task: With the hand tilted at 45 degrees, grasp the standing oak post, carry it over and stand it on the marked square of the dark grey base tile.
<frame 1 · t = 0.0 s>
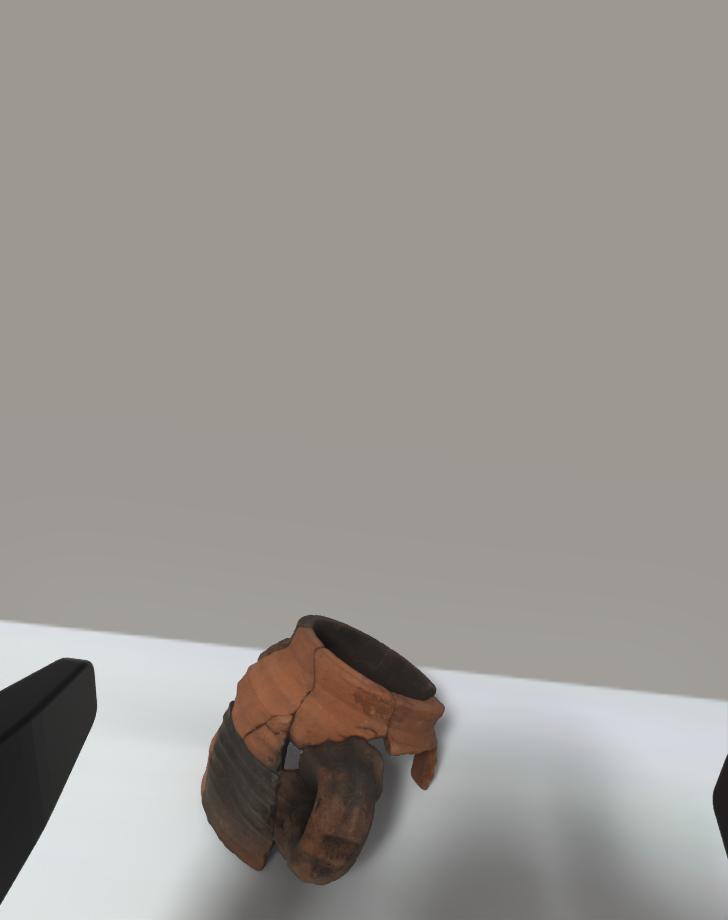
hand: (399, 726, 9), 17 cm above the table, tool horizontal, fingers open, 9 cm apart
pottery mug: (319, 806, 27), on the table
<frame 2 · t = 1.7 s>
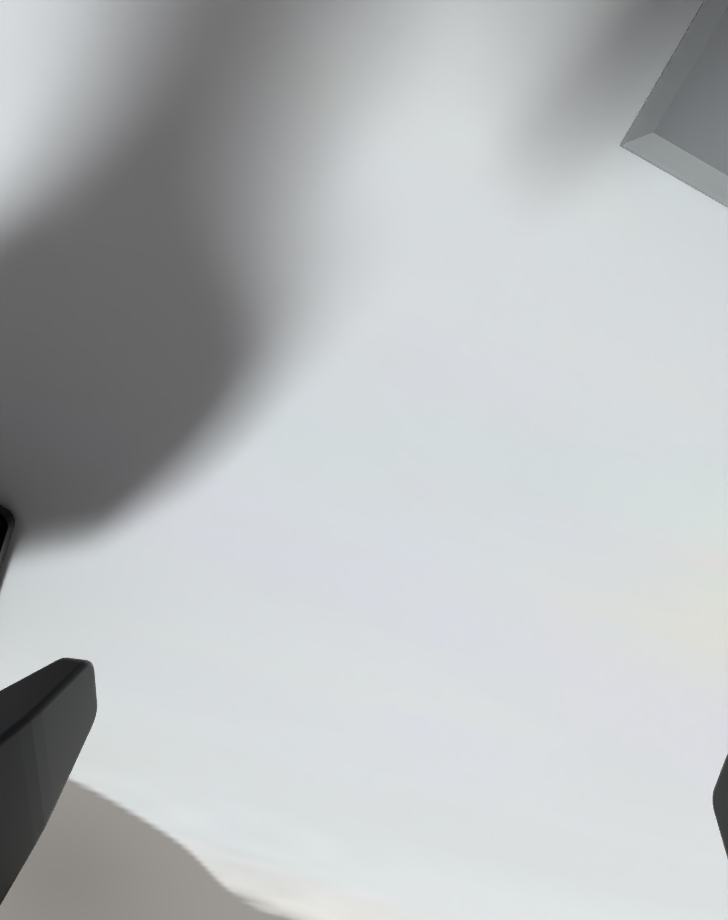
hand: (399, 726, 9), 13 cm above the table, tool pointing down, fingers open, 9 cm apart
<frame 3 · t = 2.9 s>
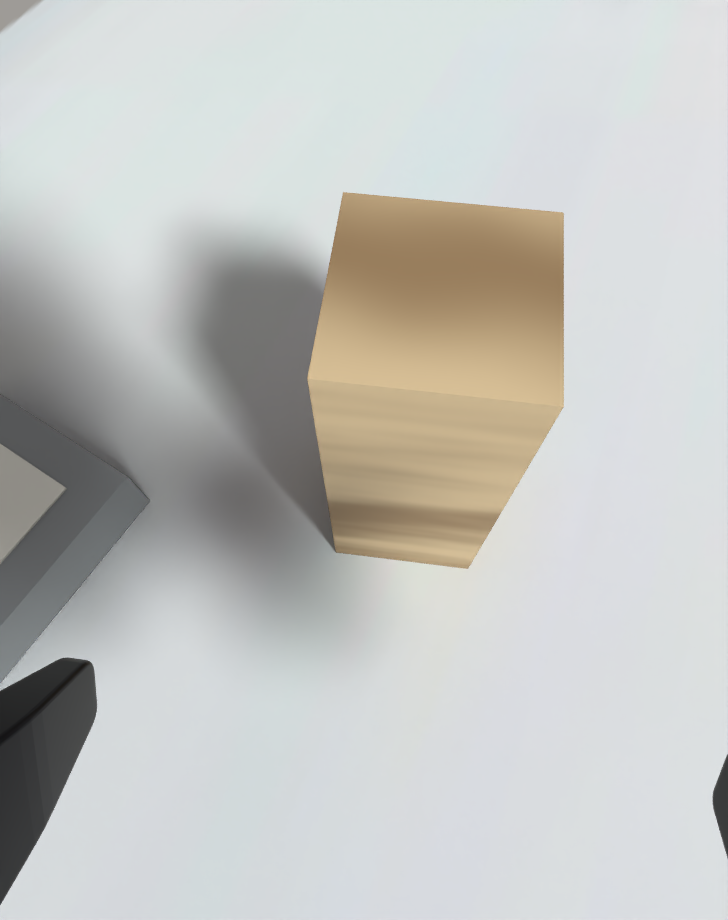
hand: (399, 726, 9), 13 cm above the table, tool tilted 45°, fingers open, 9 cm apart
oak post: (408, 498, 25), on the table
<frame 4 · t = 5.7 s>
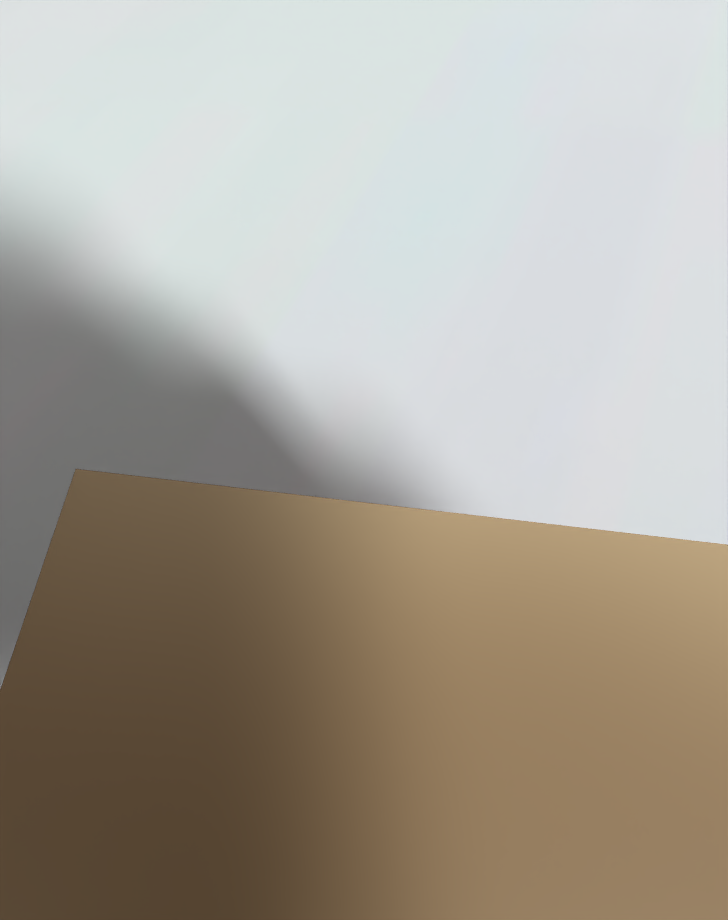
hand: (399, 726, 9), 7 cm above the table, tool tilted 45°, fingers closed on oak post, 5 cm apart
oak post: (379, 799, 14), on the table, touching gripper
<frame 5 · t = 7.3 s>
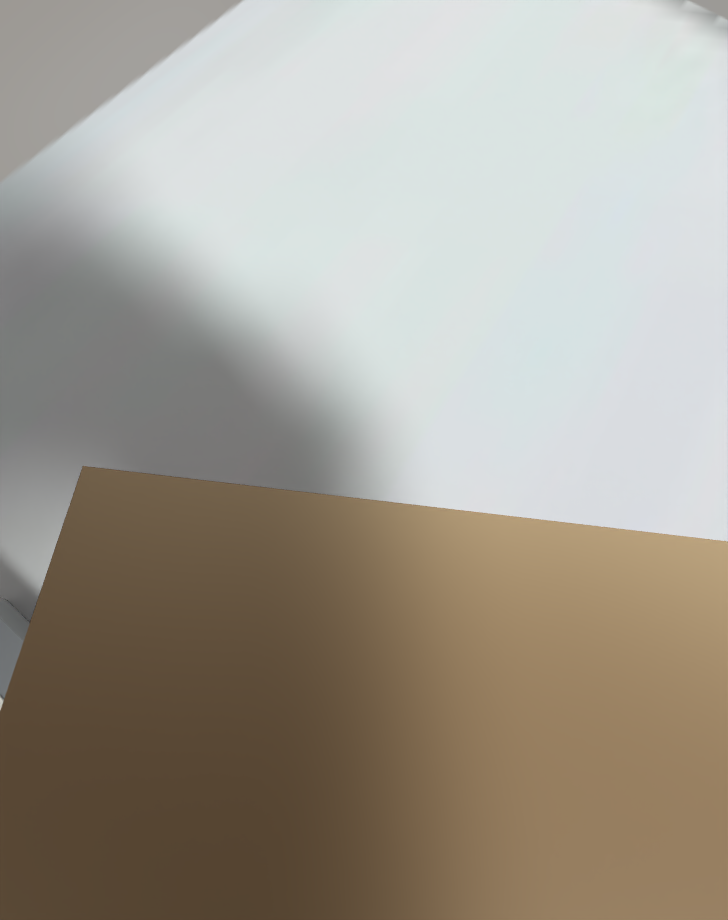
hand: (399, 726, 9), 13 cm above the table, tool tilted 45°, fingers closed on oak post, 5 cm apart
oak post: (380, 798, 14), point 7 cm above the table, touching gripper
when the fingers open (10 cm above the table, at t = 9.2 s): oak post stays where it is, resting on base tile.
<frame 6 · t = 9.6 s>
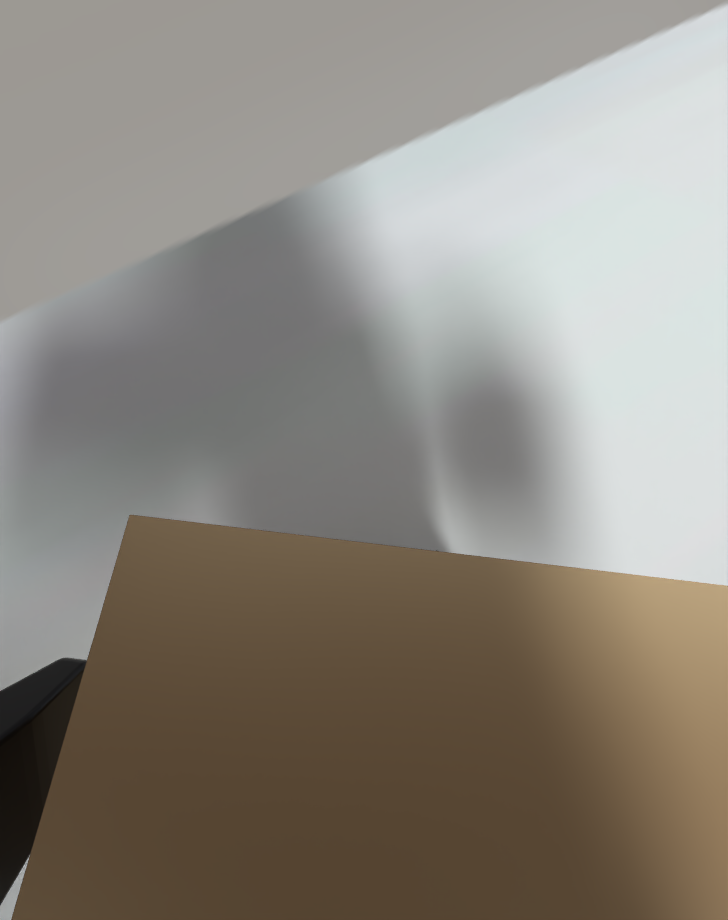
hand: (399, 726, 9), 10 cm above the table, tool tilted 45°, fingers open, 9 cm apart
oak post: (379, 794, 15), point 3 cm above the table, touching base tile
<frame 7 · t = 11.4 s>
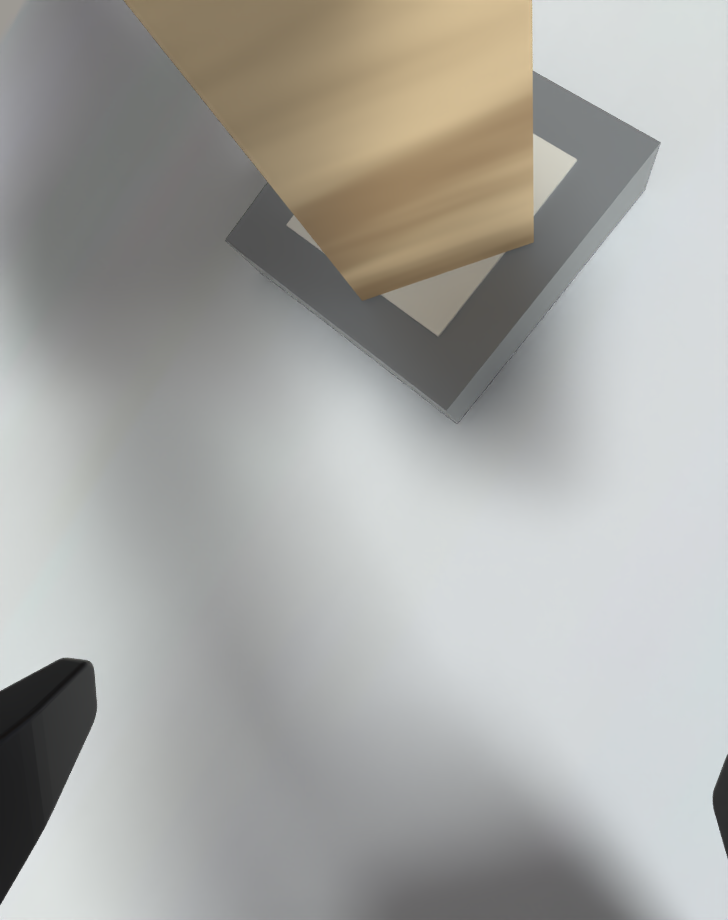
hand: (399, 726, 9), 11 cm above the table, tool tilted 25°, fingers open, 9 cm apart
base tile: (436, 233, 21), on the table
oak post: (423, 193, 18), point 3 cm above the table, touching base tile
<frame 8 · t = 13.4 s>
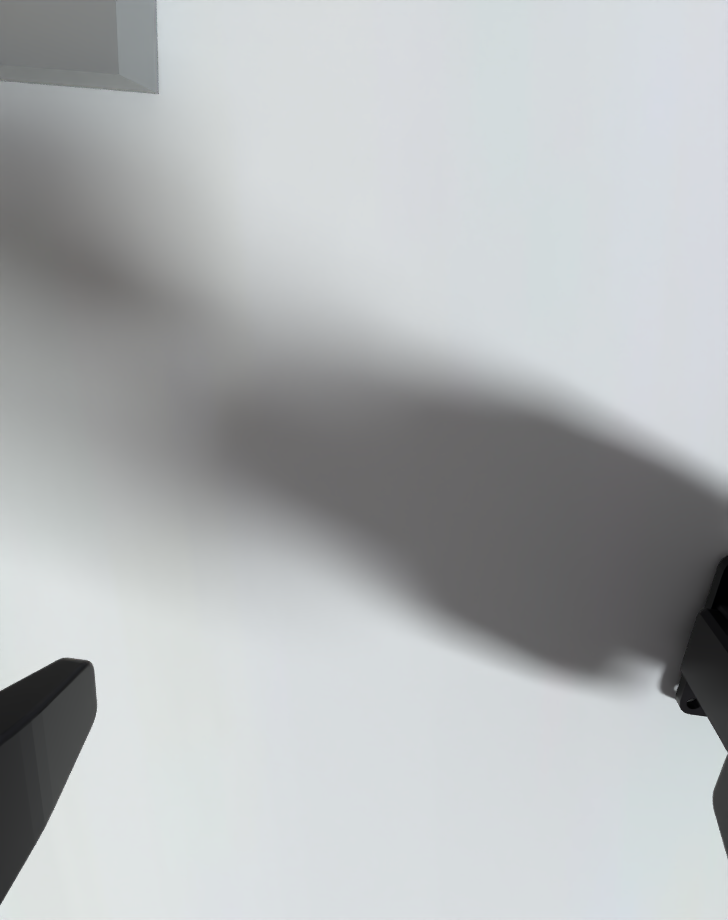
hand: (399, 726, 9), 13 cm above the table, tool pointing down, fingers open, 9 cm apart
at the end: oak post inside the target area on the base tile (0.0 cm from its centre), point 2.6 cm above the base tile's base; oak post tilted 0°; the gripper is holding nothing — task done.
